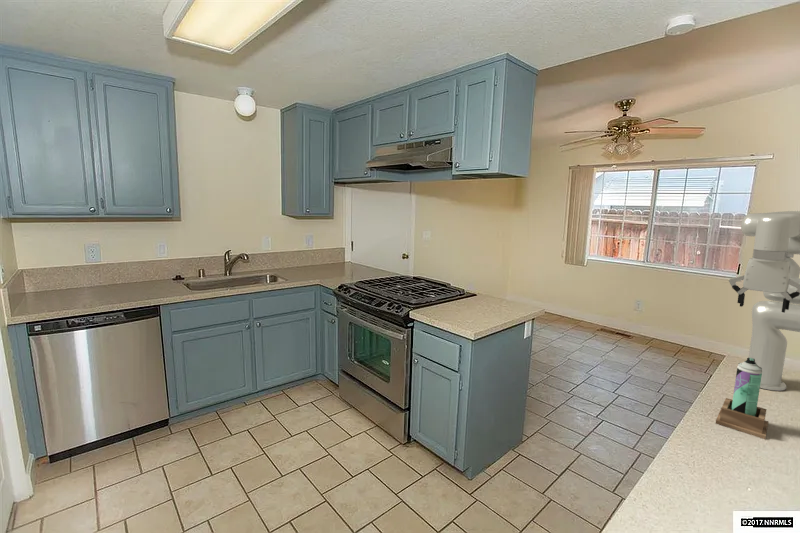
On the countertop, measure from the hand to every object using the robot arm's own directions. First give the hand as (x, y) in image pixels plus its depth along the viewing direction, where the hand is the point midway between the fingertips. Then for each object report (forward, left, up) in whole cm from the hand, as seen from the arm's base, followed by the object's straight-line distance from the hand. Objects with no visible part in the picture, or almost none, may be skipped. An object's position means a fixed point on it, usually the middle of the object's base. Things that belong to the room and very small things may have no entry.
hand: (761, 308), depth 119 cm
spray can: (+14, 0, -33) cm, 36 cm away
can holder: (+14, 0, -34) cm, 37 cm away
